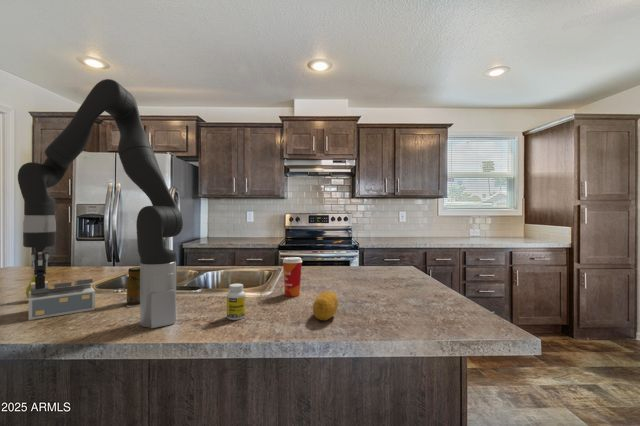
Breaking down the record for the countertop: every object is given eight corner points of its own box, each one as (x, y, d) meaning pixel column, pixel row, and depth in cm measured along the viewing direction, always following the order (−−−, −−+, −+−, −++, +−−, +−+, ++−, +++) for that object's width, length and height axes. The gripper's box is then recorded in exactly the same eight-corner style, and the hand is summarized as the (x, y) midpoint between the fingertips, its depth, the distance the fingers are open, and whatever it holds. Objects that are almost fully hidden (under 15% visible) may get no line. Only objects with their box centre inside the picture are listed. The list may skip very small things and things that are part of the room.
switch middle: (71, 286, 103) (71, 281, 103) (54, 288, 100) (54, 283, 100) (68, 285, 110) (68, 281, 111) (53, 287, 108) (53, 283, 108)
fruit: (25, 303, 112) (25, 268, 112) (26, 300, 117) (26, 266, 117) (47, 300, 116) (47, 266, 116) (47, 297, 121) (47, 264, 121)
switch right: (92, 282, 107) (92, 278, 107) (77, 284, 104) (77, 280, 104) (88, 284, 114) (88, 280, 114) (74, 285, 111) (74, 281, 112)
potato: (341, 311, 107) (341, 289, 106) (333, 326, 92) (333, 300, 92) (319, 309, 108) (319, 287, 108) (308, 324, 94) (308, 299, 94)
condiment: (145, 298, 120) (145, 265, 120) (151, 304, 113) (151, 269, 113) (122, 302, 115) (122, 267, 115) (126, 308, 108) (127, 271, 108)
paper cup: (280, 292, 129) (280, 257, 129) (299, 291, 132) (299, 256, 131) (284, 298, 122) (284, 260, 122) (304, 296, 124) (304, 259, 124)
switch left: (48, 291, 99) (48, 287, 99) (30, 294, 97) (30, 289, 97) (47, 284, 107) (47, 280, 107) (30, 286, 104) (30, 282, 104)
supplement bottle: (226, 321, 96) (226, 287, 96) (226, 315, 101) (226, 283, 101) (245, 319, 97) (245, 286, 97) (244, 314, 103) (245, 282, 103)
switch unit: (95, 310, 106) (95, 287, 106) (28, 320, 95) (28, 295, 95) (90, 301, 115) (90, 281, 115) (28, 310, 105) (28, 287, 105)
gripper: (57, 231, 96) (57, 290, 96) (54, 229, 106) (55, 282, 106) (22, 232, 91) (22, 294, 91) (23, 229, 101) (23, 286, 101)
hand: (40, 288), depth 99 cm, fingers closed
